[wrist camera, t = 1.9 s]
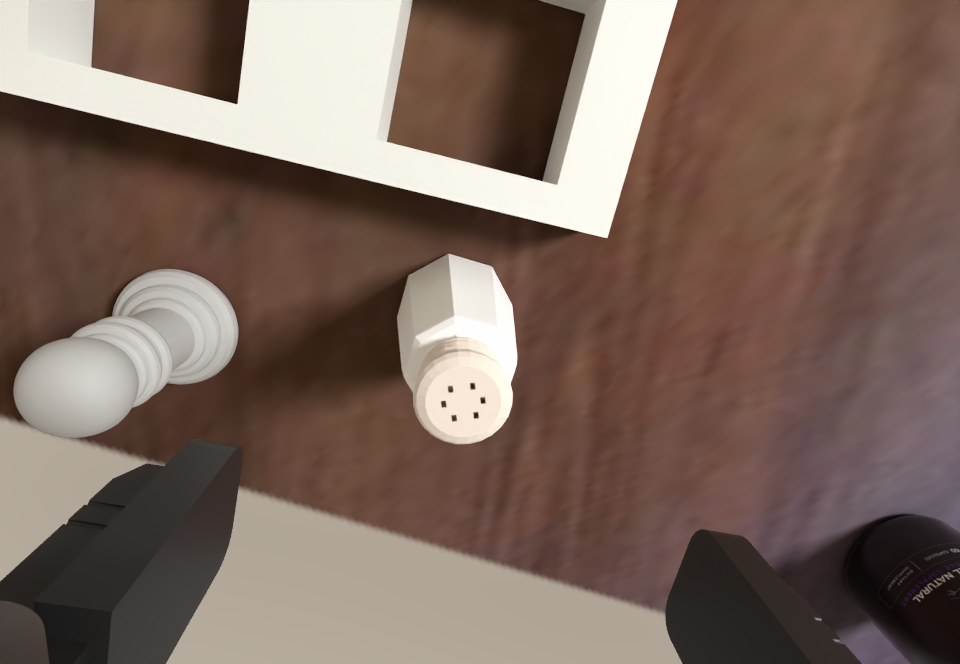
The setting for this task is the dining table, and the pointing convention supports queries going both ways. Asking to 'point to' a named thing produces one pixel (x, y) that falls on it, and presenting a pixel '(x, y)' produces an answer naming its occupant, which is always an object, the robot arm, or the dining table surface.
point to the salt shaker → (458, 348)
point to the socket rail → (362, 97)
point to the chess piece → (128, 355)
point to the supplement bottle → (910, 586)
